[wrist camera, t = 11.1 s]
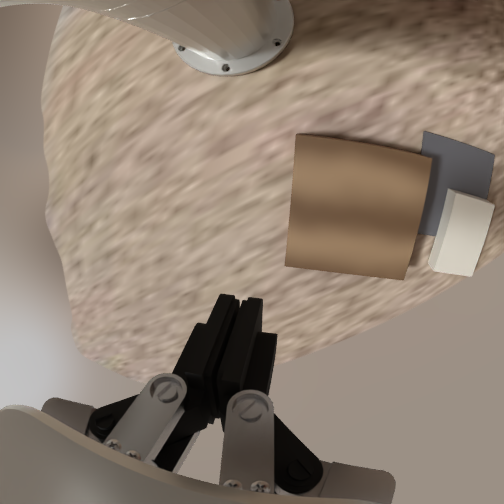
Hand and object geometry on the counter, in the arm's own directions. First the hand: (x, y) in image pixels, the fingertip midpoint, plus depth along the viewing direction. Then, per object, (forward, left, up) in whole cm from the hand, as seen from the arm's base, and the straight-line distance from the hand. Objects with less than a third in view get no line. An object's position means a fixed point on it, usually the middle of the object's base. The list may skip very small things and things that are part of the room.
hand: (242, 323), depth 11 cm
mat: (-3, +19, -20) cm, 27 cm away
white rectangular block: (+1, +21, -17) cm, 27 cm away
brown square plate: (0, +7, -20) cm, 21 cm away
